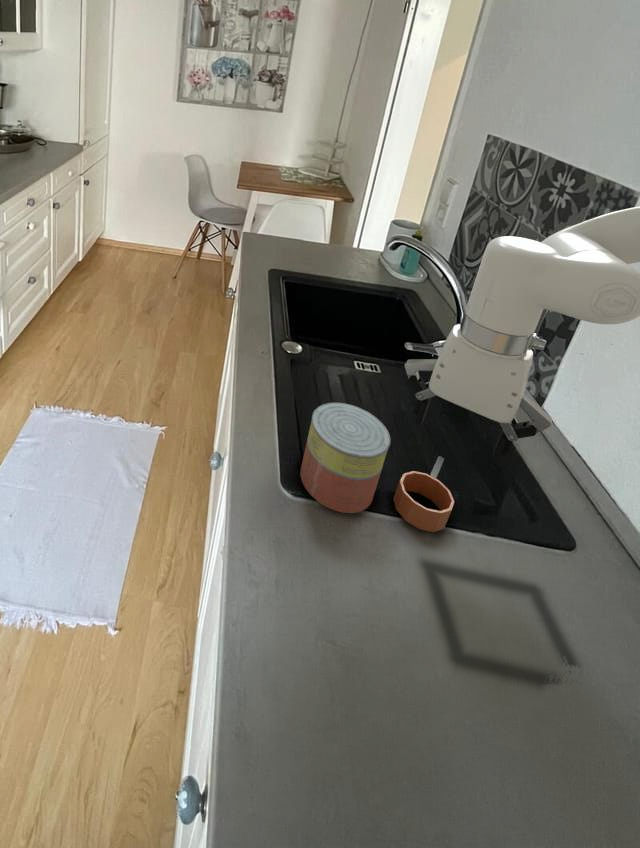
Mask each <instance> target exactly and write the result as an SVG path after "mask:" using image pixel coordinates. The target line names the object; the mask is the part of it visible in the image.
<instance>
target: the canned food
mask: <svg viewBox="0 0 640 848" xmlns="http://www.w3.org/2000/svg"><path fill="white" fill-rule="evenodd" d="M391 440H392V439H391V435H390V433H389V430H388V428H387V427H386V426H385V424H383V422H382V421H381V420H380V419H379V418H378V417H376V416H375V415H373V414H372V413H370V412H369V411H367V410H365V409H363V408H361V407H359V406H357V405H353V404H349V403H345V402H328V403H323V404H321V405H319V406H318V407H316V408H315V409H314V410H313V412H312V414H311V421H310V426H309V429H308V436H307V439H306V444H305V448H304V452H303V458H302V461H301V466H300V470H299V471H300V472H299V473H300V480H301V483H302V485H303V486H304V488H305V490H306V491H307V493H309V495H310V496H311V497H312V498H313V499H315V501H316V502H318V503H320V504H321V505H323V506H324V507H327V508H329V509H331V510H333V511H335V512H340V513H345V514H356V513H360V512H363V511H366V509H368V508H369V507H370V506H371V504H372V502H373V499H374V496H375V493H376V489H377V486H378V483H379V479H380V476H381V473H382V470H383V467H384V463H385V459H386V456H387V453H388V450H389V448H390V446H391V443H392V442H391Z"/></svg>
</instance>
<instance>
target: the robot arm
mask: <svg viewBox="0 0 640 848" xmlns="http://www.w3.org/2000/svg"><path fill="white" fill-rule="evenodd" d="M637 263H640V206H635V207H629V208H625V209H620V210H616V211H612V212H608V213H605V214H601V215H599V216H596V217H593V218H590V219H587V220H585V221H582V222H579V223H577V224H574V225H571V226H569V227H566V228H563V229H561V230H558V231H557V232H555V233H552V234H551V235H549V236H547V237H546V238H545V239H543V240H542V241H537V240H535V239H530V238H526V237H520V236H510V235H507V236H506V235H505V236H498V237H495V238H493V239H492V240H490V241H489V242H488V244H486V247H485V250H484V253H483V256H482V258H481V261H480V265H479V267H478V271H477V274H476V276H475V280H474V282H473V286H472V289H471V291H470V295H469V297H468V300H467V303H466V307H465V310H464V312H463V316H462V319H461V321H460V323H457V324H455V325H454V326H453V327H452V329H451V330H450V331H449V333H448V335H447V337H446V339H445V341H444V344H443V345H442V347H441V349H440V353H439V354H438V357H437V358H435V359H434V358H433V359H432V358H431V359H428V358H425V359H424V358H421V359H419V358H416V359H414V358H411V359H407V360H406V362H405V363H404V368H405V372H406V376H407V378H408V379H407V381H408V383H409V385H410V387H411V388H412V390H413V391H414V393H415V398H416V402H415V404H414V408H413V411H412V414H414V415H416V417H415V422H414V424H415V425H418V426H419V425H420V426H421V425H422V423H423V422H424V419H425V417H426V415H427V413H428V410H429V407H430V403H431V400H432V398H434V397H436V396H437V397H439V398H441V399H442V400H445V401H447V402H450V403H452V404H453V405H456V406H459V407H461V408H463V409H466V410H467V411H470V412H473V413H476V414H478V415H480V416H483V417H484V418H487V419H489V420H492V421H494V422H497V423H498V424H499V426H500V428H501V431H500V434H499V436H498V439H497V441H496V444H495V446H494V449H493V452H492V456H491V459H492V461H493V462H496V463H498V462H499V459H500V457H501V455H502V456H504V457H506V458H507V457H508V455H509V453H510V450H511V448H512V446H513V443H514V442H517V441H518V439H524V438H529V437H534V436H535V437H536V435H537V434H538V433H541V432H543V431H544V430H546V429H548V428H551V426H552V424H553V417H552V416H551V415H550V414H548V412H547V411H545V410H544V409H543V408H541V406H539V405H538V404H537V403H536V402H535V401H534V400H533V399H531V397H529V396H528V395H527V394H525V391H526V387H527V385H528V383H529V382H528V381H529V378H530V374H531V370H532V365H533V359H534V351H533V350H539V351H541V352H543V351H544V349H545V348H546V345H547V340H545V339H542V338H540V337H539V336H537V333H535V331H536V329H537V327H538V324H539V322H540V319H541V317H542V314H543V312H544V310H549V311H552V312H555V313H557V314H562V315H565V316H567V317H571V318H573V319H577V320H580V321H583V322H587V323H591V324H597V325H619V324H625V323H628V322H631V321H633V320H635V319H638V317H640V272H639V271H637V270H636V269H635V268H634V267H632V266H631V265H632V264H637ZM419 372H432V373H431V374H430V375H431V376H430V379H429V381H428V382H425V381H424V379H423V378H422V376H421V375H420V373H419ZM519 408H521V410H523V411H524V412H525V413H526V414H527V415H528V416H530V417H531V418H532V419H531V420H527V421H521V422H519V421H518V419H517V417H516V415H517V412H518V411H519Z"/></svg>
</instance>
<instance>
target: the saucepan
mask: <svg viewBox="0 0 640 848" xmlns="http://www.w3.org/2000/svg"><path fill="white" fill-rule="evenodd" d="M445 459H446V458H444V457H442V456H441V455H437V458H436V459H435V462H434V465H433V467H432V468H431V470H430V473H429V474H428V473H426V472H420V471H415V470H412V471H407V472H405V473H403V474H402V476H401V477H400V479H399V481H398V485H397V487H396V490H395V493H394V496H393V499H392V500H393V503H394V507H395V510H396V512H398V514H399V515H400V516H401V517H402V518H403V519H404V521H406V523H409V524H410V525H412V526H414V527H415V528H417V529H419V530H421V531H427V532H431V533H436V532H440V531H442V530H444V529H445V527H446V525H447V522H448V521H449V518H450V516H451V513H452V510H453V507H454V505H455V503H456V502H455V500H454V497H453V495H452V492H451V490H450V489H449V488H448V487H447V486H446V485H445V484H444V483H443V482H441V481H440V480H439V479H438V476H439V474H440V472H441V470H442V467H443V465H444V462H445ZM408 492H410V493H414V494H415V493H416V494H420V495H422V496H423V497H425V498H427V499H428V500H431V502H432V503H434V505H435V506H436V507H437V508H438V510H437V509H432V508H427V507H426V506H424V505H422V504H420V503H419V502H417V501H416V500H414V499H413V498H412V497H411V496H410V494H409V493H408Z"/></svg>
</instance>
